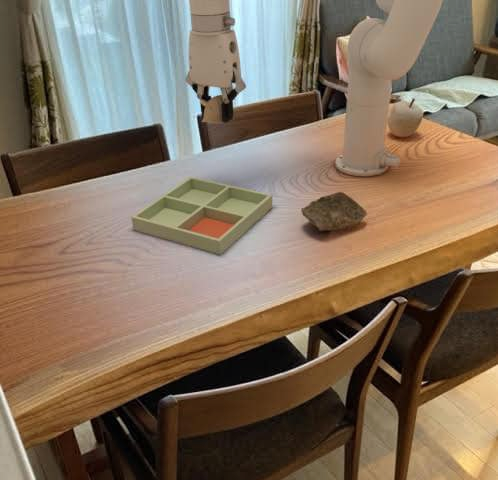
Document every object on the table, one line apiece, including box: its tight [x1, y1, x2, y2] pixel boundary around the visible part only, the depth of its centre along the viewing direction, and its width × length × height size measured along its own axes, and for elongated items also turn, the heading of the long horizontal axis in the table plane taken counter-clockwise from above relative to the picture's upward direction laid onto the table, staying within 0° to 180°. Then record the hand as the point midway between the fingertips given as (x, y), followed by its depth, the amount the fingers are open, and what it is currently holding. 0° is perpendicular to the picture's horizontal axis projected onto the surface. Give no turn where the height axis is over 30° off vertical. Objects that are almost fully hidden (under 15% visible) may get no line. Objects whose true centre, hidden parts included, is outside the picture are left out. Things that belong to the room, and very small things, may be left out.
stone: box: [300, 191, 368, 232], centre depth 108 cm, size 13×8×8 cm
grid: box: [130, 176, 273, 255], centre depth 112 cm, size 21×21×3 cm
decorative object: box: [387, 97, 424, 138], centre depth 142 cm, size 9×9×10 cm
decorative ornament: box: [199, 94, 225, 124], centre depth 114 cm, size 4×8×5 cm, turn 128°
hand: (217, 117), depth 115 cm, fingers closed on decorative ornament, 4 cm apart
